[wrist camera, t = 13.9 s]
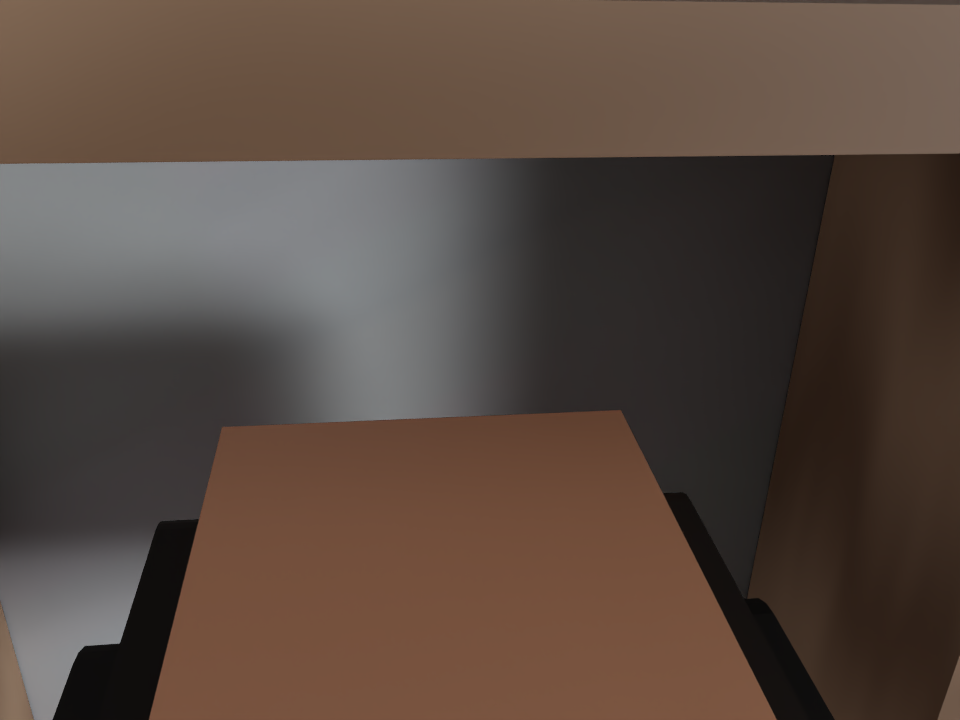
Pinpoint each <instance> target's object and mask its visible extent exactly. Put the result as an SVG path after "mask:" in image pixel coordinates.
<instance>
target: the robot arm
mask: <svg viewBox="0 0 960 720" xmlns="http://www.w3.org/2000/svg"><path fill="white" fill-rule="evenodd" d="M663 495H664V497H665V499H666V501H667V503H668V505H669V507H670V509H671V511H672V513H673V515H674V517H675V519H676V521H677V523H678V525H679V527H680V529H681V531H682V533H683V535H684V537H685V539H686V541H687V543H688V545H689V547H690V549H691V550H692V552H693V554H694V556H695V558H696V560H697V562H698V564H699V566H700V568H701V570H702V572H703V574H704V576H705V578H706V580H707V582H708V584H709V586H710V588H711V590H712V592H713V594H714V596H715V598H716V600H717V602H718V604H719V606H720V608H721V610H722V612H723V614H724V616H725V618H726V620H727V622H728V624H729V626H730V628H731V630H732V632H733V634H734V636H735V638H736V640H737V642H738V644H739V646H740V648H741V650H742V652H743V654H744V656H745V658H746V660H747V662H748V664H749V666H750V668H751V670H752V672H753V674H754V676H755V678H756V680H757V682H758V684H759V686H760V688H761V690H762V692H763V694H764V696H765V697H766V699H767V701H768V703H769V705H770V707H771V709H772V711H773V713H774V715H775V717H776V719H777V720H835V719H834V718H833V716H832V714H831V712H830V711H829V709H828V707H827V705H826V704H825V702H824V700H823V698H822V697H821V695H820V693H819V691H818V690H817V688H816V686H815V684H814V683H813V681H812V679H811V677H810V676H809V674H808V672H807V670H806V669H805V667H804V665H803V663H802V662H801V660H800V658H799V656H798V655H797V653H796V651H795V650H794V648H793V646H792V644H791V643H790V641H789V639H788V637H787V636H786V634H785V632H784V630H783V629H782V627H781V625H780V623H779V622H778V620H777V618H776V616H775V615H774V613H773V612H772V610H771V609H770V608H769V606H768V605H767V603H765V602H764V601H762V600H761V599H759V598H751V599H744V598H743V596H742V594H741V593H740V591H739V589H738V587H737V585H736V583H735V581H734V580H733V578H732V576H731V574H730V572H729V570H728V569H727V567H726V565H725V563H724V561H723V559H722V558H721V556H720V554H719V552H718V550H717V548H716V546H715V545H714V543H713V541H712V539H711V537H710V535H709V534H708V532H707V530H706V528H705V526H704V524H703V523H702V521H701V519H700V517H699V515H698V513H697V512H696V510H695V508H694V506H693V504H692V502H691V500H690V499H689V497H688V496H687V495H686V494H685V493H683V492H678V493H663ZM198 522H199V519H195V520H177V521H161V522H160V523H159V524H158V526H157V528H156V531H155V534H154V537H153V540H152V544H151V547H150V550H149V553H148V556H147V560H146V563H145V566H144V569H143V572H142V575H141V579H140V582H139V585H138V588H137V591H136V595H135V598H134V601H133V604H132V607H131V610H130V614H129V617H128V620H127V623H126V626H125V630H124V633H123V636H122V639H121V642H120V644H108V645H94V646H85V647H84V648H83V649H82V650H81V651H80V652H79V653H78V655H77V657H76V659H75V661H74V663H73V666H72V668H71V671H70V674H69V677H68V679H67V682H66V685H65V688H64V690H63V693H62V696H61V699H60V701H59V704H58V707H57V709H56V712H55V715H54V718H53V720H149V717H150V713H151V709H152V705H153V701H154V697H155V693H156V689H157V685H158V681H159V677H160V673H161V669H162V665H163V661H164V657H165V653H166V649H167V645H168V641H169V637H170V633H171V629H172V625H173V621H174V617H175V613H176V609H177V606H178V602H179V598H180V594H181V590H182V586H183V582H184V578H185V574H186V570H187V566H188V562H189V558H190V554H191V550H192V546H193V542H194V538H195V534H196V530H197V526H198Z"/></svg>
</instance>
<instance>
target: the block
mask: <svg viewBox="0 0 960 720" xmlns="http://www.w3.org/2000/svg"><path fill="white" fill-rule="evenodd" d="M149 720H777V719H776V717H775V715H774V713H773V711H772V709H771V707H770V705H769V703H768V701H767V699H766V697H765V696H764V694H763V692H762V690H761V688H760V686H759V684H758V682H757V680H756V678H755V676H754V674H753V672H752V670H751V668H750V666H749V664H748V662H747V660H746V658H745V656H744V654H743V652H742V650H741V648H740V646H739V644H738V642H737V640H736V638H735V636H734V634H733V632H732V630H731V628H730V626H729V624H728V622H727V620H726V618H725V616H724V614H723V612H722V610H721V608H720V606H719V604H718V602H717V600H716V598H715V596H714V594H713V592H712V590H711V588H710V586H709V584H708V582H707V580H706V578H705V576H704V574H703V572H702V570H701V568H700V566H699V564H698V562H697V560H696V558H695V556H694V554H693V552H692V550H691V549H690V547H689V545H688V543H687V541H686V539H685V537H684V535H683V533H682V531H681V529H680V527H679V525H678V523H677V521H676V519H675V517H674V515H673V513H672V511H671V509H670V507H669V505H668V503H667V501H666V499H665V497H664V495H663V493H662V491H661V489H660V487H659V485H658V483H657V481H656V479H655V477H654V475H653V473H652V471H651V469H650V467H649V465H648V463H647V461H646V459H645V457H644V455H643V453H642V451H641V449H640V447H639V445H638V443H637V441H636V439H635V437H634V435H633V433H632V431H631V429H630V427H629V425H628V423H627V421H626V419H625V417H624V415H623V413H622V411H621V410H610V411H587V412H563V413H540V414H516V415H493V416H469V417H446V418H422V419H399V420H375V421H352V422H328V423H305V424H282V425H258V426H235V427H222V430H221V434H220V438H219V442H218V446H217V450H216V454H215V458H214V462H213V466H212V470H211V474H210V478H209V482H208V486H207V490H206V494H205V498H204V502H203V506H202V510H201V514H200V518H199V522H198V526H197V530H196V534H195V538H194V542H193V546H192V550H191V554H190V558H189V562H188V566H187V570H186V574H185V578H184V582H183V586H182V590H181V594H180V598H179V602H178V606H177V609H176V613H175V617H174V621H173V625H172V629H171V633H170V637H169V641H168V645H167V649H166V653H165V657H164V661H163V665H162V669H161V673H160V677H159V681H158V685H157V689H156V693H155V697H154V701H153V705H152V709H151V713H150V717H149Z"/></svg>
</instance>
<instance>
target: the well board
mask: <svg viewBox="0 0 960 720" xmlns="http://www.w3.org/2000/svg"><path fill="white" fill-rule="evenodd" d="M768 155H835V157H834V162H833V167H832V172H831V177H830V182H829V187H828V192H827V197H826V202H825V207H824V212H823V217H822V222H821V227H820V232H819V237H818V242H817V247H816V253H815V258H814V263H813V268H812V273H811V278H810V283H809V288H808V293H807V298H806V303H805V308H804V313H803V318H802V323H801V328H800V333H799V338H798V343H797V348H796V353H795V359H794V364H793V369H792V374H791V379H790V384H789V389H788V394H787V399H786V404H785V409H784V414H783V419H782V424H781V429H780V434H779V439H778V444H777V449H776V454H775V459H774V464H773V470H772V475H771V480H770V485H769V490H768V495H767V500H766V505H765V510H764V515H763V520H762V525H761V530H760V535H759V540H758V545H757V550H756V555H755V560H754V565H753V570H752V576H751V581H750V586H749V591H748V596H747V599H751V598H759V599H761V600H762V601H764V602H765V603H767V605H768V606H769V608H770V609H771V610H772V612H773V613H774V615H775V616H776V618H777V620H778V622H779V623H780V625H781V627H782V629H783V630H784V632H785V634H786V636H787V637H788V639H789V641H790V643H791V644H792V646H793V648H794V650H795V651H796V653H797V655H798V656H799V658H800V660H801V662H802V663H803V665H804V667H805V669H806V670H807V672H808V674H809V676H810V677H811V679H812V681H813V683H814V684H815V686H816V688H817V690H818V691H819V693H820V695H821V697H822V698H823V700H824V702H825V704H826V705H827V707H828V709H829V711H830V712H831V714H832V716H833V718H834V719H835V720H960V0H0V164H17V163H111V162H204V161H298V160H392V159H486V158H580V157H674V156H768ZM0 720H34V719H33V715H32V712H31V708H30V704H29V701H28V697H27V694H26V690H25V687H24V683H23V680H22V676H21V673H20V669H19V666H18V662H17V659H16V655H15V652H14V648H13V644H12V641H11V637H10V634H9V630H8V627H7V623H6V620H5V616H4V613H3V609H2V606H1V602H0Z"/></svg>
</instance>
